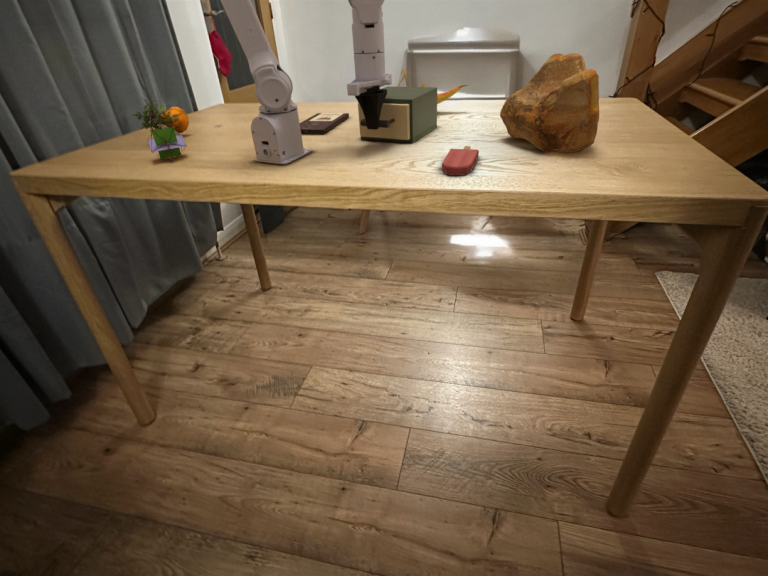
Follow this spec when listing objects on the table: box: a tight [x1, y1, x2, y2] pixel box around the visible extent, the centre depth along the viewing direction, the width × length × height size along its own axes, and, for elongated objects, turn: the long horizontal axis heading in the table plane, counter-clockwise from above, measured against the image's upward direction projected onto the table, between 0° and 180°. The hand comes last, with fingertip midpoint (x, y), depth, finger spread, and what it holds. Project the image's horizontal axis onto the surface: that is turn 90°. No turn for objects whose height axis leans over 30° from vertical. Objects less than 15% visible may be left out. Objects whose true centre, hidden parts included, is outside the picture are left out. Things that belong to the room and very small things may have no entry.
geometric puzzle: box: [146, 125, 187, 162], centre depth 88 cm, size 7×7×8 cm
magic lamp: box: [397, 69, 469, 105], centre depth 111 cm, size 7×18×11 cm, turn 82°
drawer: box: [357, 102, 410, 140], centre depth 93 cm, size 18×11×7 cm, turn 154°
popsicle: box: [441, 145, 480, 176], centre depth 78 cm, size 5×2×15 cm
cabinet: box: [357, 85, 438, 144], centre depth 96 cm, size 15×13×9 cm
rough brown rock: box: [499, 52, 600, 153], centre depth 83 cm, size 23×17×15 cm
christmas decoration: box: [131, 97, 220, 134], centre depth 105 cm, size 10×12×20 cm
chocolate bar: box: [299, 112, 350, 135], centre depth 109 cm, size 9×1×18 cm
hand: (373, 128), depth 87 cm, fingers closed, pressing on drawer
